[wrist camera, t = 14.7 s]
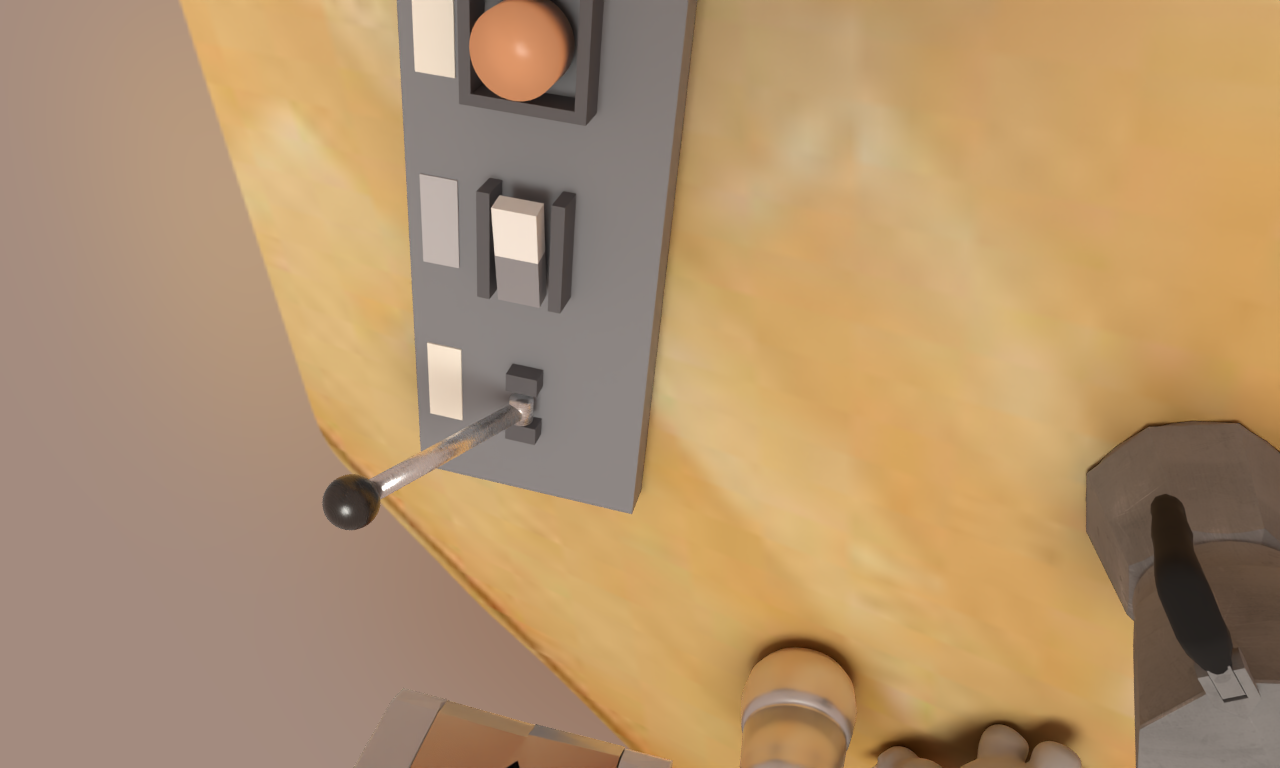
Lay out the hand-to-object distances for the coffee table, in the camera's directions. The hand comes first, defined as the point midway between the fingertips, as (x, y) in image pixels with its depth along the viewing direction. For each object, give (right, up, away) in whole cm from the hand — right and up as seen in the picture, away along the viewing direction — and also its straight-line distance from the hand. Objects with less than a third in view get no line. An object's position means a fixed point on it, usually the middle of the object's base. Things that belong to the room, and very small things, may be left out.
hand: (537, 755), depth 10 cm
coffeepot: (+26, 0, +35) cm, 44 cm away
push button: (-3, +18, +28) cm, 33 cm away
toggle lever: (-5, +3, +38) cm, 39 cm away
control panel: (-3, +12, +35) cm, 37 cm away
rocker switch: (-4, +10, +33) cm, 34 cm away
